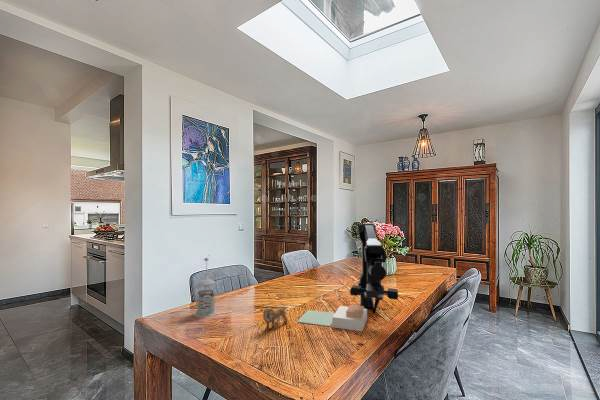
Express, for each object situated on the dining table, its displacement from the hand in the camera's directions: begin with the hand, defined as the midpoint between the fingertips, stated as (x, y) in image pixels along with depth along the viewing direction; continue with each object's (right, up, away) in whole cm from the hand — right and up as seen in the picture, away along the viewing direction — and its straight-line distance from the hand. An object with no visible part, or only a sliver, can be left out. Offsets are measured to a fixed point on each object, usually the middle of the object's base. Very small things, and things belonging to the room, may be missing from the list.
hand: (374, 313), depth 123 cm
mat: (-22, -5, +8) cm, 24 cm away
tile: (-7, -1, +2) cm, 8 cm away
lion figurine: (-40, -5, -2) cm, 40 cm away
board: (-9, -5, +3) cm, 11 cm away
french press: (-73, -5, +13) cm, 75 cm away
